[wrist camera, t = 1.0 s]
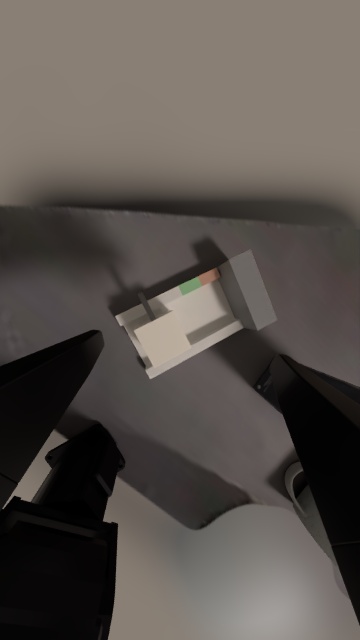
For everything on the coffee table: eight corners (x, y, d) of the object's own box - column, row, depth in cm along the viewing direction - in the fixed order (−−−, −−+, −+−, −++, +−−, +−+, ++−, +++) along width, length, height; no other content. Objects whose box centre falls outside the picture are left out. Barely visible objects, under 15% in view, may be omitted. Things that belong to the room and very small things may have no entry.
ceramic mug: (339, 475, 25) (417, 545, 18) (311, 515, 25) (378, 604, 17) (300, 444, 24) (368, 508, 16) (269, 487, 23) (323, 573, 16)
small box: (249, 389, 21) (341, 468, 11) (276, 352, 21) (391, 394, 11) (297, 425, 23) (413, 520, 13) (321, 390, 23) (454, 456, 13)
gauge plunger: (154, 354, 18) (154, 368, 14) (126, 303, 17) (117, 302, 13) (183, 339, 18) (191, 347, 14) (158, 288, 17) (159, 282, 13)
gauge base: (150, 373, 18) (149, 391, 14) (118, 315, 17) (107, 317, 13) (253, 317, 20) (277, 319, 16) (230, 261, 19) (250, 249, 15)
